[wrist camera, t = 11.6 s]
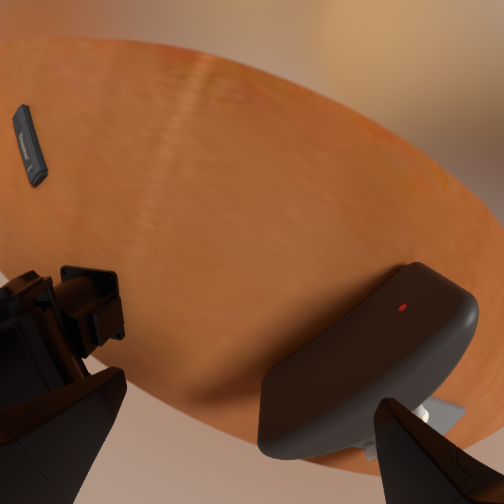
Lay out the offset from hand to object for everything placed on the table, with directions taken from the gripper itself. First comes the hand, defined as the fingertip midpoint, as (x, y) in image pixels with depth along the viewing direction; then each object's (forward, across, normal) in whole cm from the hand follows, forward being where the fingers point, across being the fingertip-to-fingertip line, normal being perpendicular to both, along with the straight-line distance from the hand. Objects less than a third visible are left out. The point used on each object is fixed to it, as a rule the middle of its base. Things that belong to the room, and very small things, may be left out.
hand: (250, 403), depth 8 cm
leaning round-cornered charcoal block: (+13, -6, +4) cm, 15 cm away
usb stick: (+13, +24, -11) cm, 29 cm away
